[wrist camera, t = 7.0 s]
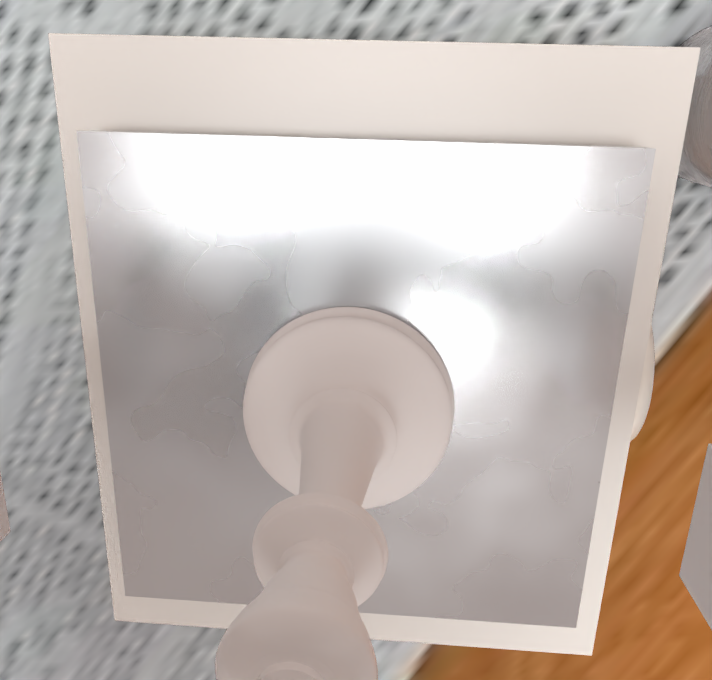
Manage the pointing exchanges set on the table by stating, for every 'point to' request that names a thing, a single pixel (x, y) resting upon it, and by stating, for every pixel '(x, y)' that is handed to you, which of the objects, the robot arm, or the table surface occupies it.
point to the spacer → (699, 116)
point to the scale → (388, 121)
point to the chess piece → (332, 485)
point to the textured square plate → (380, 293)
